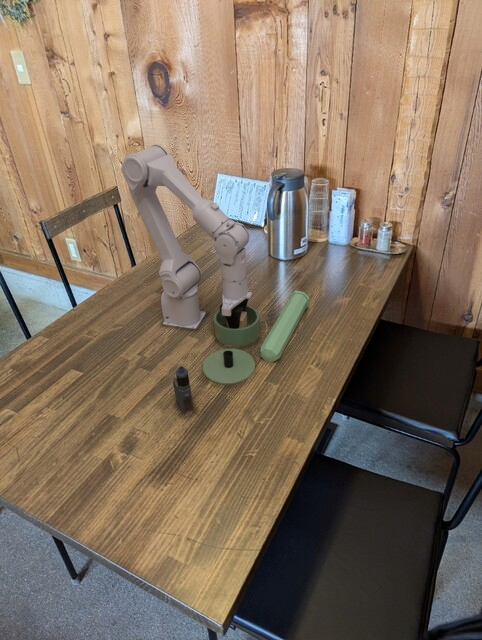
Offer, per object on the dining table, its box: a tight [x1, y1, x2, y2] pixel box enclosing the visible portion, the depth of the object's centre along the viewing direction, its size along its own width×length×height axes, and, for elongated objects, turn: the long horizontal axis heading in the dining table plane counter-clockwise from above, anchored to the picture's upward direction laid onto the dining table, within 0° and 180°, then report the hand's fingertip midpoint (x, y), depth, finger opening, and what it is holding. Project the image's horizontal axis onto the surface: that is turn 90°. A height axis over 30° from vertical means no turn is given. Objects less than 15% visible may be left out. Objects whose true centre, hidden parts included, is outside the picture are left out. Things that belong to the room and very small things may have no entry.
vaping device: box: [172, 365, 195, 415], centre depth 90 cm, size 3×5×12 cm, turn 28°
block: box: [226, 312, 248, 328], centre depth 111 cm, size 4×4×4 cm
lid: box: [202, 348, 256, 386], centre depth 101 cm, size 12×12×4 cm
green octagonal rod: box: [260, 290, 311, 363], centre depth 111 cm, size 6×6×25 cm
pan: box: [213, 304, 261, 348], centre depth 112 cm, size 11×11×6 cm
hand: (237, 323), depth 111 cm, fingers closed on block, 4 cm apart
